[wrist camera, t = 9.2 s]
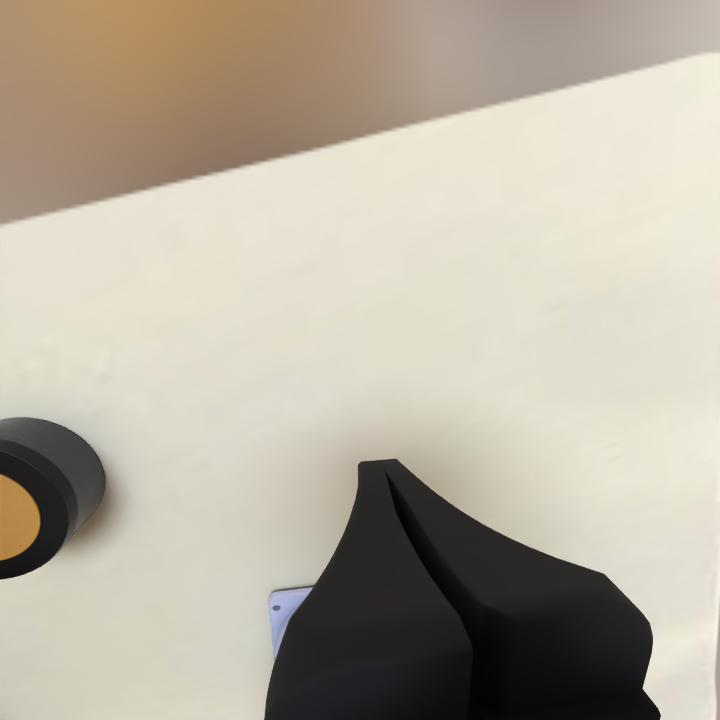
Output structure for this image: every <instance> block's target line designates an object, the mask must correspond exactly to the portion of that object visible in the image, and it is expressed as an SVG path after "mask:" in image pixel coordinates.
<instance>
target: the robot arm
mask: <svg viewBox="0 0 720 720" xmlns="http://www.w3.org/2000/svg"><path fill="white" fill-rule="evenodd" d="M275 605H278V606H275ZM269 612H270V622H271V631H272V641H273V650H274V660H275V663H274V666H273V670H272V674H271V678H270V683H269V688H268V692H267V699H266V708H265V718H264V720H660V717H661V715H660V712H659V710H658V708H657V707H656V705H655V704H654V703H653V702H652V700H651V699H650V698H649V697H648V695H647V694H646V693H645V691H644V690H643V689H642V688H643V684H644V680H645V677H646V673H647V669H648V665H649V661H650V658H651V654H652V645H653V635H652V631H651V626H650V623H649V621H648V620H647V619H646V617H645V616H644V615H643V613H642V612H641V611H640V610H639V609H638V608H637V607H636V606H635V605H634V604H633V603H632V602H631V601H630V600H629V599H628V598H627V597H626V596H625V595H624V594H623V593H622V592H621V591H620V589H619V588H618V587H617V586H616V585H615V584H614V583H613V582H612V581H611V580H610V579H609V578H608V577H607V576H606V575H605V574H603V573H600V572H597V571H594V570H591V569H588V568H585V567H582V566H579V565H576V564H573V563H570V562H567V561H564V560H561V559H558V558H555V557H553V556H550V555H548V554H545V553H543V552H540V551H538V550H535V549H533V548H530V547H528V546H526V545H523V544H521V543H519V542H517V541H515V540H512V539H510V538H508V537H506V536H504V535H502V534H500V533H498V532H496V531H494V530H492V529H491V528H489V527H487V526H485V525H483V524H481V523H480V522H478V521H476V520H475V519H473V518H472V517H470V516H468V515H467V514H465V513H463V512H462V511H460V510H459V509H457V508H456V507H454V506H453V505H451V504H450V503H449V502H447V501H446V500H445V499H443V498H442V497H440V496H439V495H438V494H437V493H435V492H434V491H433V490H431V489H430V488H429V487H428V486H427V485H425V484H424V483H423V482H422V481H421V480H419V479H418V478H417V477H416V476H415V475H414V474H413V473H411V472H410V471H409V470H408V469H407V468H406V467H405V466H404V465H403V464H402V463H400V462H399V461H398V460H397V459H387V460H375V461H363V462H360V463H359V464H358V489H357V494H356V499H355V502H354V506H353V509H352V512H351V515H350V518H349V521H348V524H347V526H346V529H345V531H344V534H343V536H342V538H341V540H340V542H339V544H338V546H337V548H336V550H335V552H334V554H333V556H332V558H331V560H330V562H329V563H328V565H327V567H326V568H325V570H324V571H323V573H322V575H321V576H320V578H319V579H318V581H317V582H316V584H315V586H314V587H309V588H301V589H293V590H285V591H277V592H273V593H272V594H271V595H270V596H269Z"/></svg>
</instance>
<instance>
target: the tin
mask: <svg viewBox="0 0 720 720" xmlns="http://www.w3.org/2000/svg"><path fill="white" fill-rule="evenodd" d="M104 488H105V478H104V472H103V469H102V465H101V463H100V461H99V459H98V457H97V456H96V454H95V453H94V451H93V450H92V449H91V448H90V446H89V445H88V444H87V443H86V442H85V441H83V440H82V439H81V438H80V437H79V436H77V435H76V434H74V433H73V432H71V431H70V430H68V429H66V428H64V427H62V426H59V425H57V424H55V423H51V422H48V421H45V420H40V419H34V418H8V419H2V420H0V579H7V578H13V577H17V576H20V575H24V574H26V573H29V572H31V571H33V570H35V569H37V568H39V567H41V566H42V565H44V564H45V563H47V562H48V561H49V560H50V559H51V558H53V557H54V556H55V555H56V554H57V553H58V551H59V550H60V549H61V548H62V547H63V546H64V545H65V544H66V543H67V541H68V540H69V539H70V537H71V536H72V535H73V534H74V533H75V532H76V531H77V530H78V529H79V528H80V527H81V525H82V524H83V523H84V522H85V521H86V520H87V519H88V518H89V517H90V516H91V515H92V514H93V513H94V511H95V510H96V509H97V507H98V505H99V504H100V502H101V499H102V497H103V493H104Z"/></svg>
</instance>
